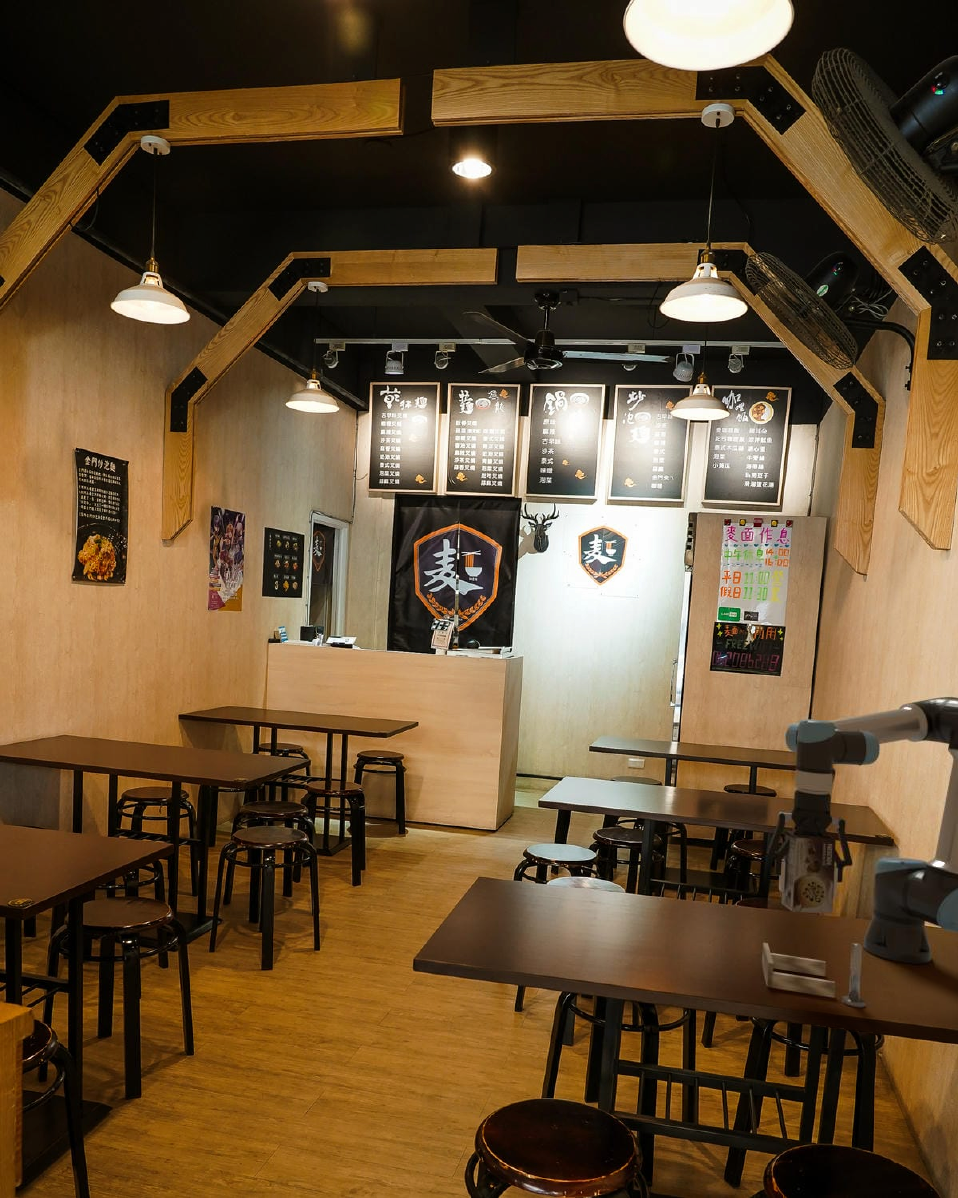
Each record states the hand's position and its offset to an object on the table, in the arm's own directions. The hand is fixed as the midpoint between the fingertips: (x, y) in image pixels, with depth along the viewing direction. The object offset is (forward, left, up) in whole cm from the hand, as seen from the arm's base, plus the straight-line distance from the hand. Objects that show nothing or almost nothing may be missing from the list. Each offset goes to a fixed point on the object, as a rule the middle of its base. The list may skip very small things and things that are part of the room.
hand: (807, 893), depth 195 cm
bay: (+1, -1, -19) cm, 19 cm away
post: (-9, +7, -19) cm, 23 cm away
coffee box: (0, 0, -3) cm, 3 cm away
